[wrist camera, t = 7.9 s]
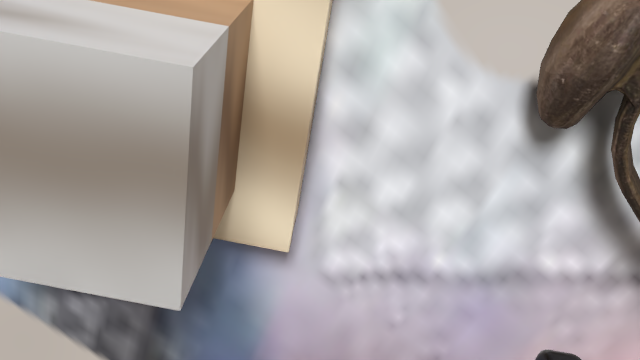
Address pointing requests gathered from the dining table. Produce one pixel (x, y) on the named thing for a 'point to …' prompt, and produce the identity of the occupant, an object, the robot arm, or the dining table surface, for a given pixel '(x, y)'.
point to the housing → (118, 140)
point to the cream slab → (276, 120)
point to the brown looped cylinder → (596, 77)
